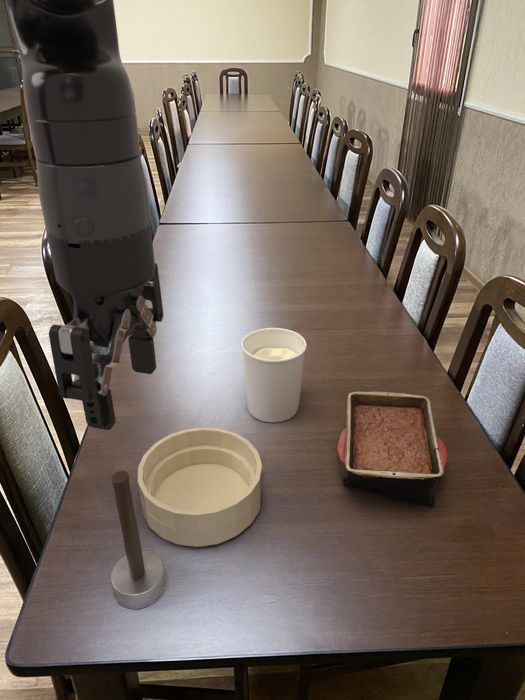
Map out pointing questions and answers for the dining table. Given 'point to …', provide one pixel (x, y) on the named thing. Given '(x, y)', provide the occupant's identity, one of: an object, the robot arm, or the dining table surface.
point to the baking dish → (392, 445)
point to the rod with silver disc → (134, 555)
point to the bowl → (200, 486)
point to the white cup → (273, 373)
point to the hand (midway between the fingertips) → (125, 396)
